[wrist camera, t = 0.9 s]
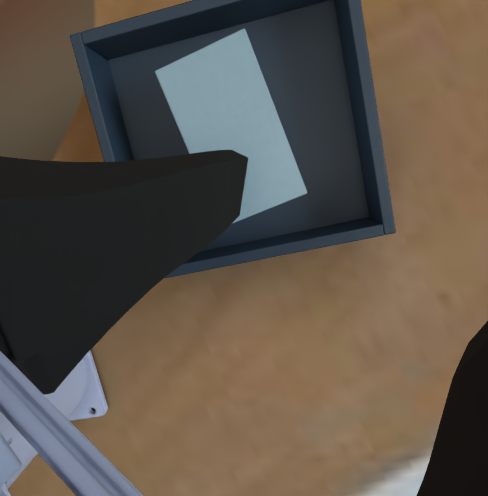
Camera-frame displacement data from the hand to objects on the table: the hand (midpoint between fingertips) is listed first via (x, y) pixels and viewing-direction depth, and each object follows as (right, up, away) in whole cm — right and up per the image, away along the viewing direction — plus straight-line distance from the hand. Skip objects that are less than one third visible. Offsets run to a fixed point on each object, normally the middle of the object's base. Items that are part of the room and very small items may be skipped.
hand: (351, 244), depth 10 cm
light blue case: (-3, +6, +13) cm, 15 cm away
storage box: (-3, +6, +13) cm, 15 cm away
